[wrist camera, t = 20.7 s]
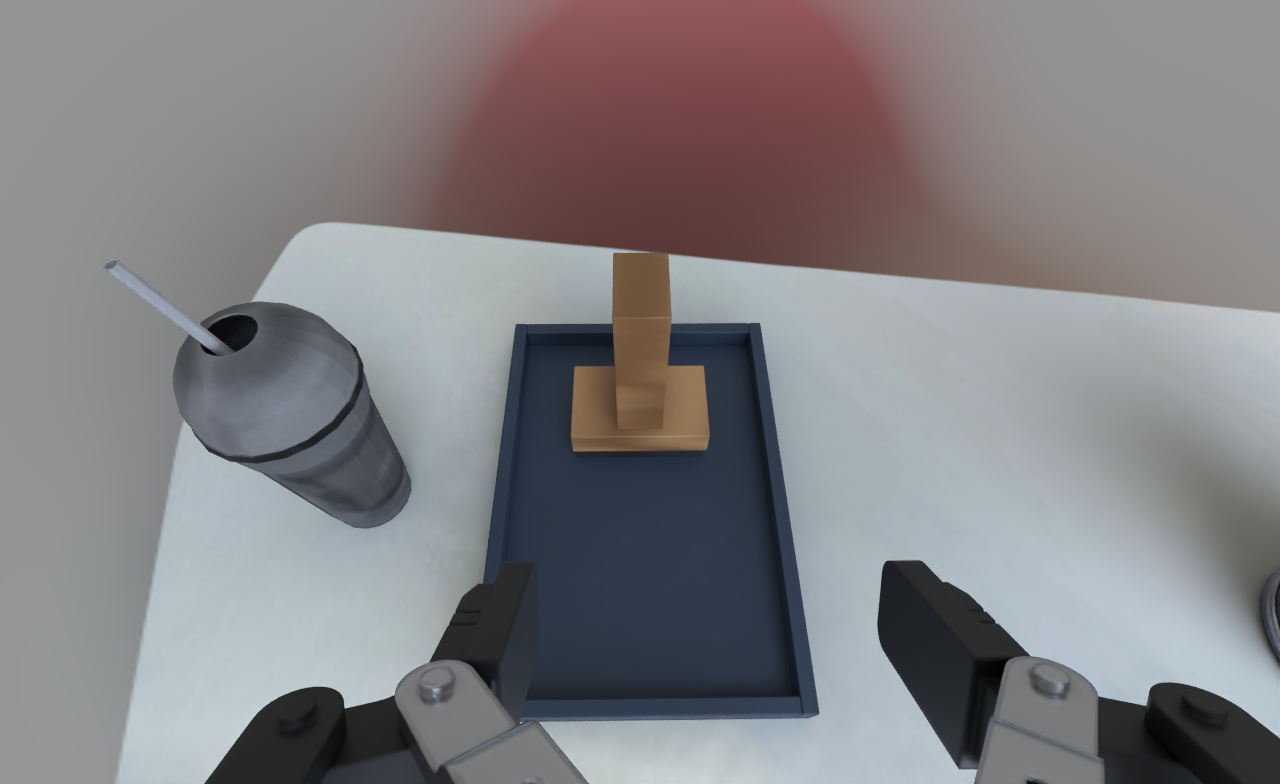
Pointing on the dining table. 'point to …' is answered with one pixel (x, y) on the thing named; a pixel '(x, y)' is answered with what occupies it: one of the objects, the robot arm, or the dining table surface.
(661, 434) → the wooden post on base
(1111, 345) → the dining table surface
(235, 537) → the dining table surface
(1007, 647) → the robot arm
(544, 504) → the tray
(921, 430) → the dining table surface
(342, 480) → the beverage cup
